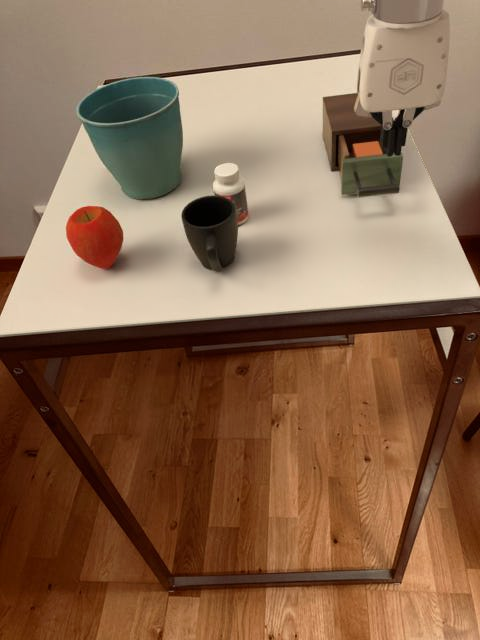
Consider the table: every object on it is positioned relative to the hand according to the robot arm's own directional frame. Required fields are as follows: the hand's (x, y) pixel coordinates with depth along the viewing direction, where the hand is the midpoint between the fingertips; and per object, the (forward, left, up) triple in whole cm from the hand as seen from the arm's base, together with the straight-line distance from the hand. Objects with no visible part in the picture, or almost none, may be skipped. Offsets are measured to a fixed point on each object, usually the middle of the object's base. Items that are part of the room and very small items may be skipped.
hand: (391, 150), depth 71 cm
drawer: (+12, -8, -14) cm, 20 cm away
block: (+13, -9, -13) cm, 21 cm away
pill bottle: (+21, +15, -15) cm, 30 cm away
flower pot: (+42, +21, -15) cm, 49 cm away
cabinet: (+23, -15, -15) cm, 31 cm away
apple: (+25, +38, -15) cm, 48 cm away
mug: (+12, +24, -15) cm, 31 cm away
